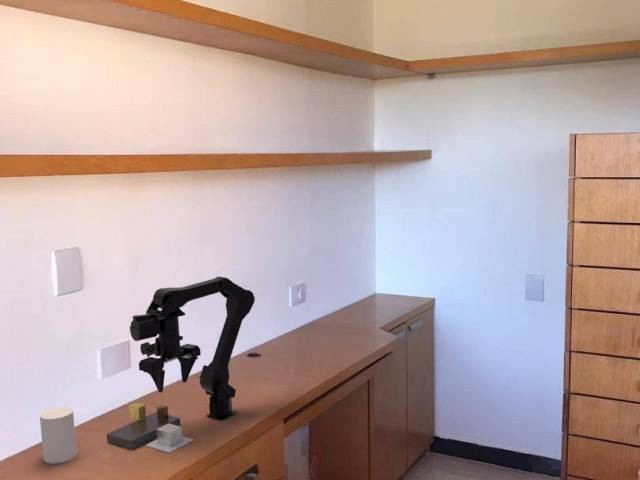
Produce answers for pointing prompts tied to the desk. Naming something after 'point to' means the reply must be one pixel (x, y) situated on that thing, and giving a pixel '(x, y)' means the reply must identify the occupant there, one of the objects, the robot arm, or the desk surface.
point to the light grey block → (169, 435)
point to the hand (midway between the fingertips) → (172, 387)
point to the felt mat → (166, 448)
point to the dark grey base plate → (142, 429)
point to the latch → (137, 411)
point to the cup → (58, 435)
